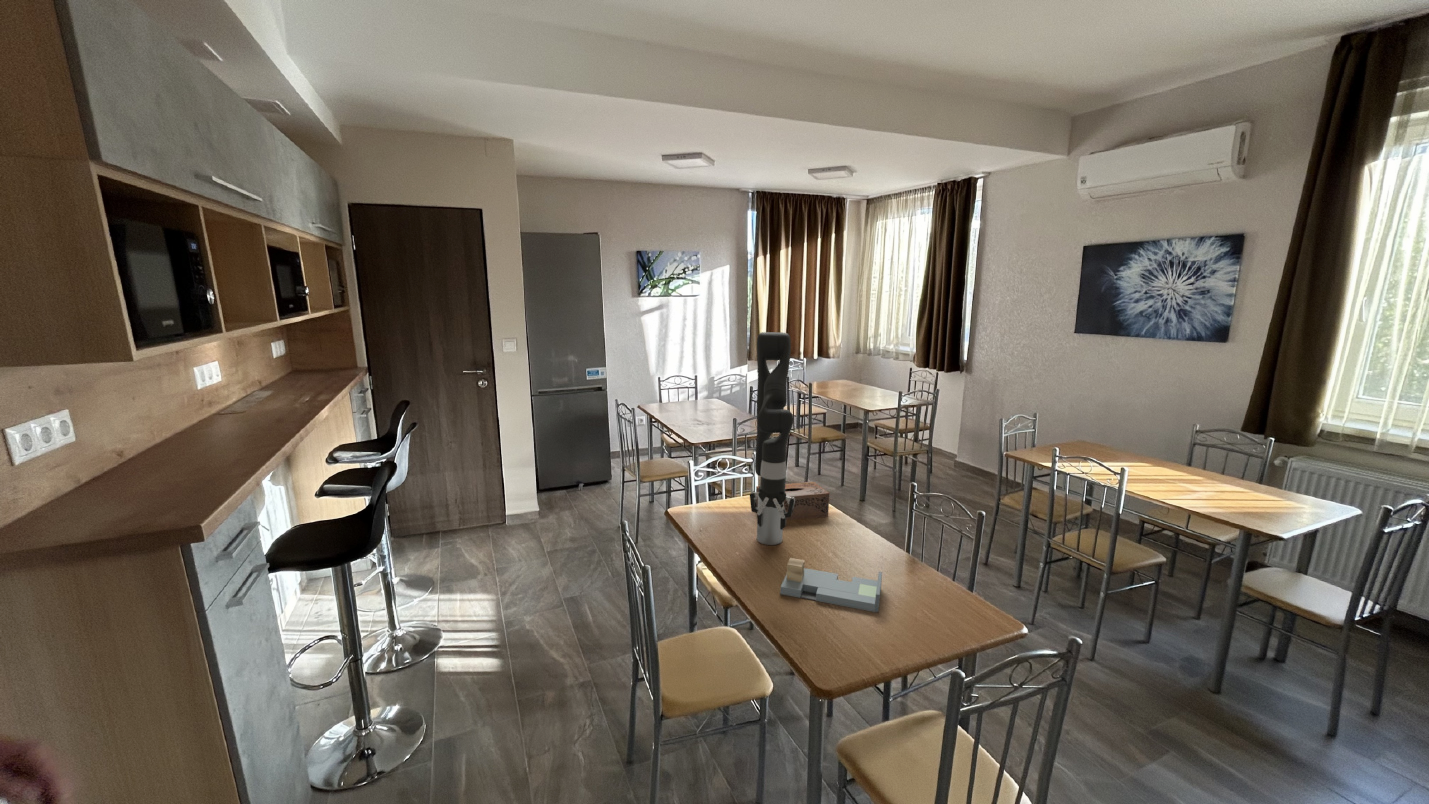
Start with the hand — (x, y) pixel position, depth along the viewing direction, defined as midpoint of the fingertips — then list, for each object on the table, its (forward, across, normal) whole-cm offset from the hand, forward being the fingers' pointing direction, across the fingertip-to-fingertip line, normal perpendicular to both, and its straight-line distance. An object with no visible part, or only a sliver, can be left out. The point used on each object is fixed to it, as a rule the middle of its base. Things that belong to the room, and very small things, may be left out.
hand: (771, 527), depth 172 cm
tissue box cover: (+18, +5, -58) cm, 60 cm away
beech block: (+15, -8, 0) cm, 17 cm away
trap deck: (+18, -19, 0) cm, 26 cm away
